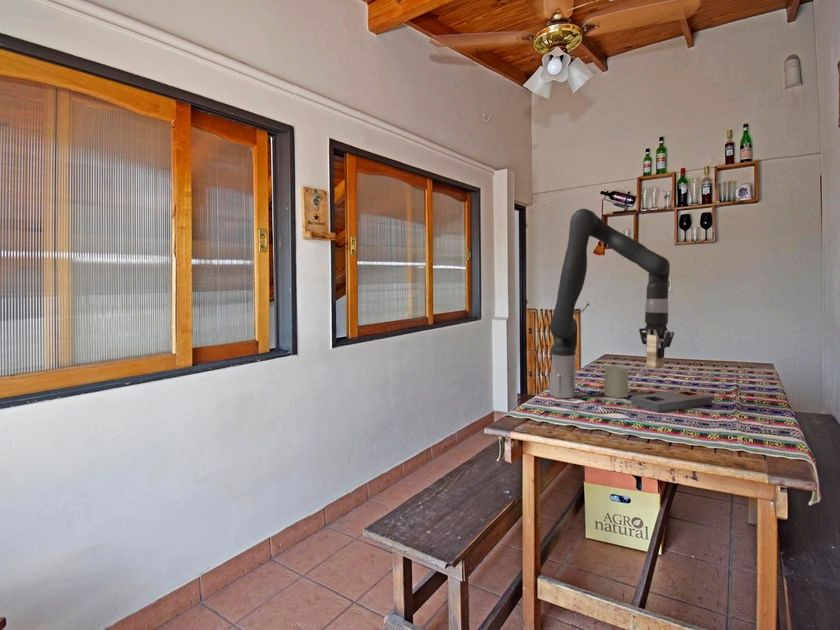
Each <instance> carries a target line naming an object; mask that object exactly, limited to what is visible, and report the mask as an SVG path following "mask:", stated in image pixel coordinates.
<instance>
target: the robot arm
mask: <svg viewBox="0 0 840 630" xmlns="http://www.w3.org/2000/svg"><path fill="white" fill-rule="evenodd" d="M568 230H569V233H568V242H567V248H566V252H565V254H564V259H563V264H562V268H561V273H560V277H559V283H558V290H557V295H556V296H557V299H556V302H555V303H556V304H555V306H554V310H553V313H552V317H551V319H550V323H549V330H550V334H551V335H552V336H553V337H554V339H553V340H554V341H553V344H552V346H551V371H550V372H549V394H548V395H549V396H552V397H555V398H556V399H572V398H575V397H576V350H577V345H578V324H577V321H576V318H574V311H575V308H576V304H577V301H578V299H579V297H580V295H581V292H582V291H583V288H584V284H585V280H586V276H587V275H586V274H587V269H588V253H587V251H588V245H589V239H590V237H592V238H595V239H596V240H599V241H600V242H602V243H603V244H605V245H607V246H608V247H609V248H610V249H612V250H613V251H614V252H616V253H617V254H619V255H620V256H622V257H623V258H625V259H627V260H629V261H630V262H632V263H634V264H636V265H637V266H638V267H640V268H641V269H643V270H644V271H645V272H647V273H648V283H647V285H646V299H645V306H644V307H645V310H644V323H645V327H643V328H639V329H638V331H639V336H640V341H641V344H643V345H645V346H646V347H647V335H655V336H657V342H658V358H659V359H661V358H663V357H664V358H665V350H666V348H670V346H671V345H672V341H673V339H674V335H675V332H674V331H670V330H668V327H667V325H668V324H669V277H670V268H671V266H670V261H669V260H668V258H667V257H665V256H662V255H661V254H658V253H656V252H655V251H653V250H651V249H648V248H647V246H645V245H643V244H642V243H640V242H639V241H637V240H635V239H634V238H633V237H630V236H628V235H626V234H624V233H622V232H620V231H618V230H616V229H615V228H613V227H611V226H610V225H608V224H607V223H606V222H605V221H603V220H602V219H601V218H600V217H599V216H598V215H597V214H596V213H595V212H594V211H592V210H590V209H587V208H580V209H578V210H576V211H575V212H573V214H572V215H571V217H570V221H569V229H568ZM660 338H663V339H661V340H660ZM661 342H662V345H661Z"/></svg>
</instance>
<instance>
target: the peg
mask: <svg viewBox="0 0 840 630" xmlns="http://www.w3.org/2000/svg"><path fill="white" fill-rule="evenodd" d="M661 339H663V338H660V340H661ZM661 345H662V342H661ZM664 359H665V356H664V357H663V358H661V359H659V358H658V342H657V336H655V335H647V346H646V365H645V366H646V367H647V368H651V369H663V368H664V366H665V365H664V364H665V363H664V362H665V360H664Z"/></svg>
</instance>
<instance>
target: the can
mask: <svg viewBox="0 0 840 630" xmlns="http://www.w3.org/2000/svg"><path fill="white" fill-rule="evenodd" d="M603 367H604V386H603V387H604V389H603V390H604V392H603V395H604V396H606V397H608V398H614V399H615V398H616V399H625V398H624V397H626V398H628V397H629V369H630V368H629V367H627V366H624V365H605V366H603Z"/></svg>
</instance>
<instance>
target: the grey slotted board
mask: <svg viewBox="0 0 840 630" xmlns="http://www.w3.org/2000/svg"><path fill="white" fill-rule="evenodd" d="M630 397H631V399H630V400H631V401H630V402H631V403H630V404H631V406H636V407H638V408H642V409H644V410H645V409H646V410H648V411H651V412H655V413H656V414H658V413H664V412H671V411H676V410H682V409H683V410H684V409H690V408H691V409H692V408H696V407H702V406H703V407H704V406H710V405H712V404H713V396H712V395H709V394H704V393H700V392H695V391H691V390H688V389H683V388H682V389H677V390H670V391H663V392H655V393H648V394H642V395H640V394H639V395H633V396H630Z"/></svg>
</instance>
